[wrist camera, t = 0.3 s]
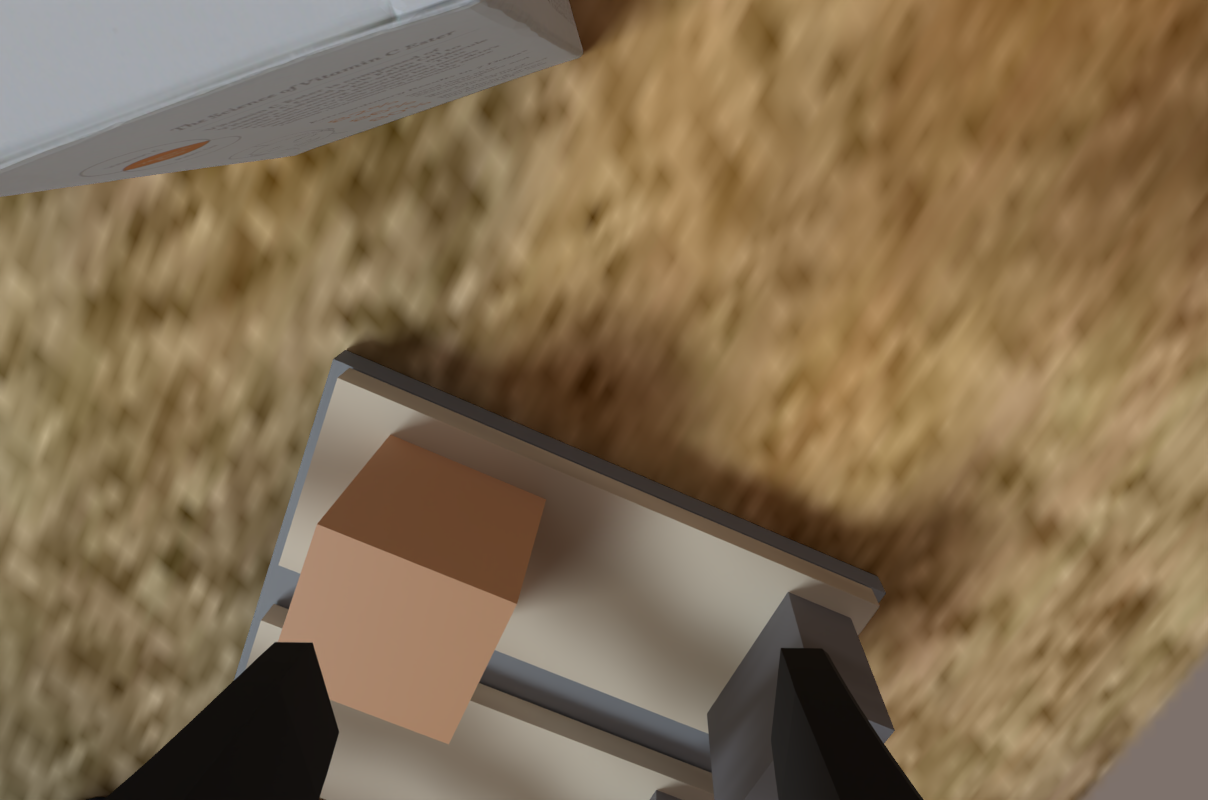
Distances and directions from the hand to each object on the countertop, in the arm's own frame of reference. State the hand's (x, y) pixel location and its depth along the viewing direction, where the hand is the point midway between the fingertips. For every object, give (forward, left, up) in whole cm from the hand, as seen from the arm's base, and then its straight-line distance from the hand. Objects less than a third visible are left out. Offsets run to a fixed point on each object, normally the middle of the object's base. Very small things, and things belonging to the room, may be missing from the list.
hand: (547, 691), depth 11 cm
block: (-4, +3, -8) cm, 10 cm away
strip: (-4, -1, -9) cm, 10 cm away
